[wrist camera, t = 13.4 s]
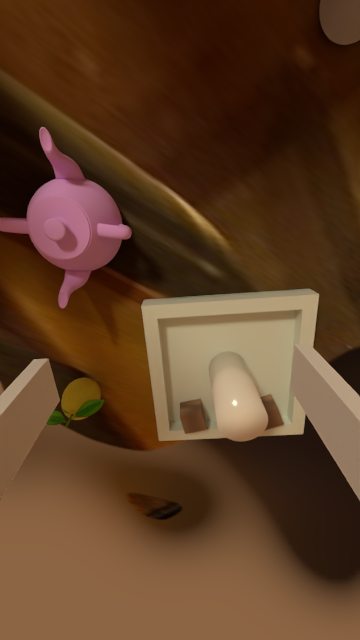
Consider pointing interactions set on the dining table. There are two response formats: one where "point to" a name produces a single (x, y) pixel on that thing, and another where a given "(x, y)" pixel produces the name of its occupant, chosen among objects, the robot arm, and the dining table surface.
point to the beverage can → (340, 20)
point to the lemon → (78, 401)
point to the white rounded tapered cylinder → (236, 398)
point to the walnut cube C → (272, 412)
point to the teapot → (71, 221)
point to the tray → (225, 336)
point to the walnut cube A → (192, 416)
